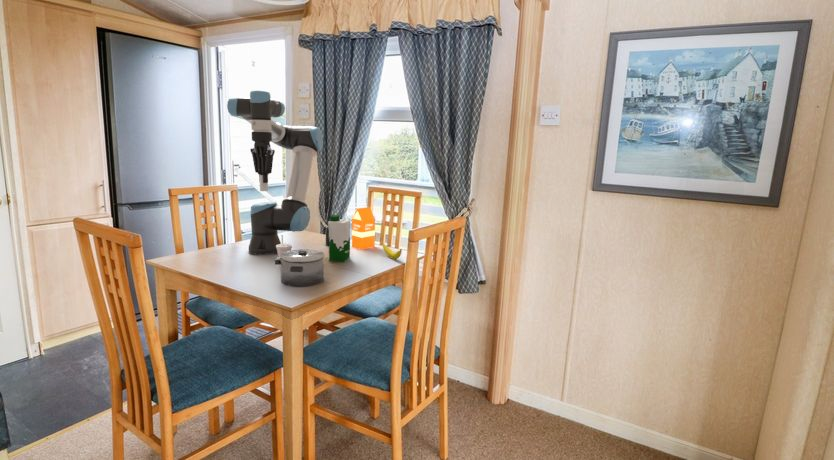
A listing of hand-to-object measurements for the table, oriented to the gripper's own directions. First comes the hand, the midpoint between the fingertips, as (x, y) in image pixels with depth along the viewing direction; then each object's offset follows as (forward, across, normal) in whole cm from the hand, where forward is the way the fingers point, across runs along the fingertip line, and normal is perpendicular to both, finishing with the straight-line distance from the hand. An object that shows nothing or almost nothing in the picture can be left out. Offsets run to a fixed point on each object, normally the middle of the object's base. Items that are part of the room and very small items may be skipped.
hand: (264, 190), depth 184 cm
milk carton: (+33, +13, +29) cm, 46 cm away
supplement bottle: (+33, -10, +46) cm, 57 cm away
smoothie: (+33, +5, +5) cm, 33 cm away
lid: (+23, +24, -1) cm, 33 cm away
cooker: (+32, +24, -1) cm, 40 cm away
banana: (+33, +28, +47) cm, 64 cm away
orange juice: (+33, +4, +54) cm, 63 cm away
